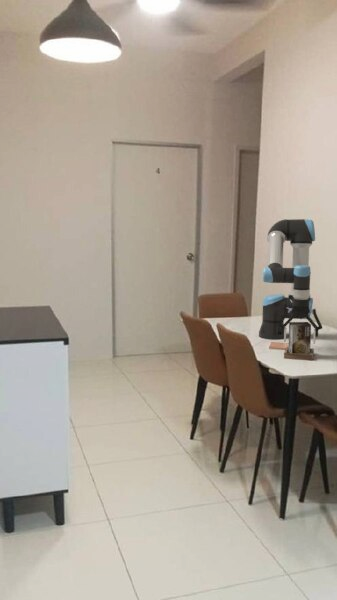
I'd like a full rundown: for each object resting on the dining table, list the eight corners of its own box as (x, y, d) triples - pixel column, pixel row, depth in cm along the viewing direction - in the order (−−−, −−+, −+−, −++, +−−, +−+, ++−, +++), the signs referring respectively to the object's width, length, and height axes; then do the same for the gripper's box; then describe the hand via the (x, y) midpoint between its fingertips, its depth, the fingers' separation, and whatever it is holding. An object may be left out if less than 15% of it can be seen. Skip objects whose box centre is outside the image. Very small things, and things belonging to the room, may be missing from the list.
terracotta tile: (271, 343, 272) (271, 341, 272) (292, 345, 268) (292, 343, 268) (268, 348, 261) (268, 346, 261) (291, 350, 258) (291, 348, 258)
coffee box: (306, 354, 251) (307, 321, 249) (310, 357, 245) (311, 324, 242) (287, 354, 251) (288, 321, 248) (291, 357, 244) (292, 324, 242)
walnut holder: (286, 351, 256) (286, 346, 255) (313, 353, 252) (313, 348, 252) (283, 358, 244) (284, 353, 243) (312, 360, 240) (312, 355, 239)
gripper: (273, 298, 244) (272, 342, 247) (328, 300, 236) (326, 345, 239) (275, 296, 251) (273, 338, 254) (328, 298, 243) (326, 342, 246)
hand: (299, 342), depth 247 cm, fingers open, 13 cm apart
